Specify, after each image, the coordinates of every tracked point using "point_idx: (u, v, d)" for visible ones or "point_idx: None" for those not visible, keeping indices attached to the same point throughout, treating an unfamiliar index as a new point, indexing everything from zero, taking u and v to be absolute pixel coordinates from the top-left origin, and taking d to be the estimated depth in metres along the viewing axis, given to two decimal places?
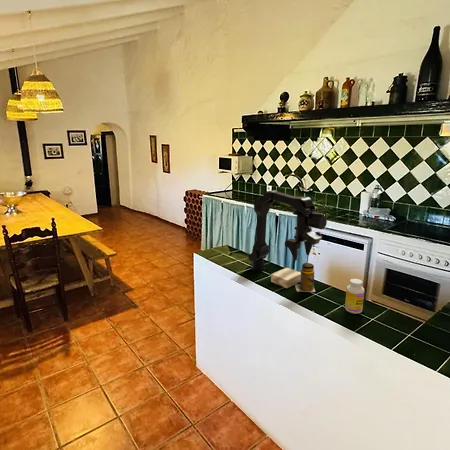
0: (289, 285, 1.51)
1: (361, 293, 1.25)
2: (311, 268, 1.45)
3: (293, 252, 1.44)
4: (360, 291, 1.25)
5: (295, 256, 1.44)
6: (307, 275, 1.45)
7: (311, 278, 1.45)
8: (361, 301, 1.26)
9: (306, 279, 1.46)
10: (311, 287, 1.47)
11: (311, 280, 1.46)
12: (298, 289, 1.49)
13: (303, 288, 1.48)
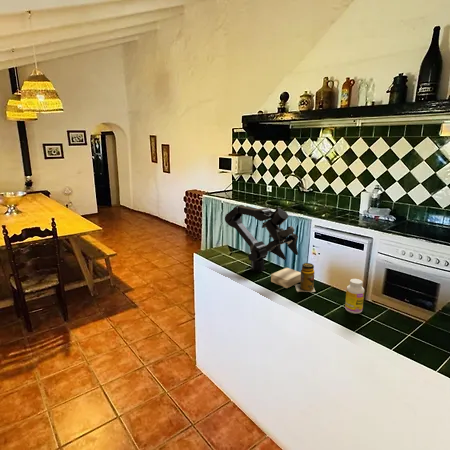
0: (289, 285, 1.51)
1: (361, 293, 1.25)
2: (311, 268, 1.45)
3: (278, 253, 1.51)
4: (360, 291, 1.25)
5: (282, 255, 1.50)
6: (307, 275, 1.45)
7: (311, 278, 1.45)
8: (361, 301, 1.26)
9: (306, 279, 1.46)
10: (311, 287, 1.47)
11: (311, 280, 1.46)
12: (298, 289, 1.49)
13: (303, 288, 1.48)
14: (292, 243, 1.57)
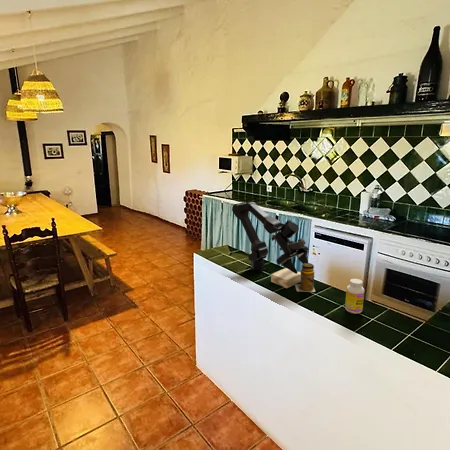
0: (289, 285, 1.51)
1: (361, 293, 1.25)
2: (311, 268, 1.45)
3: (289, 267, 1.47)
4: (360, 291, 1.25)
5: (293, 269, 1.46)
6: (307, 275, 1.45)
7: (311, 278, 1.45)
8: (361, 301, 1.26)
9: (306, 279, 1.46)
10: (311, 287, 1.47)
11: (311, 280, 1.46)
12: (298, 289, 1.49)
13: (303, 288, 1.48)
14: (303, 256, 1.53)
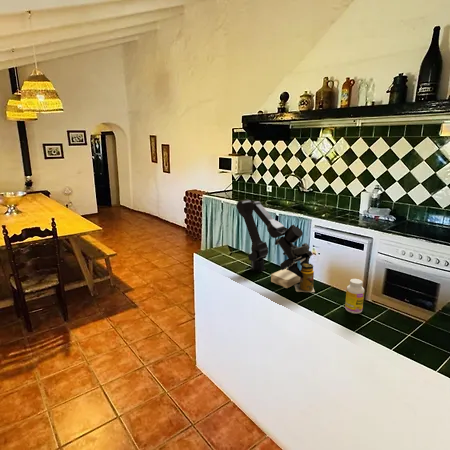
0: (289, 285, 1.51)
1: (361, 293, 1.25)
2: (310, 268, 1.44)
3: (295, 271, 1.47)
4: (360, 291, 1.25)
5: (299, 273, 1.46)
6: (306, 275, 1.45)
7: (310, 278, 1.45)
8: (361, 301, 1.26)
9: (305, 279, 1.45)
10: (311, 287, 1.46)
11: (310, 280, 1.45)
12: (297, 289, 1.48)
13: (302, 288, 1.47)
14: (305, 261, 1.51)
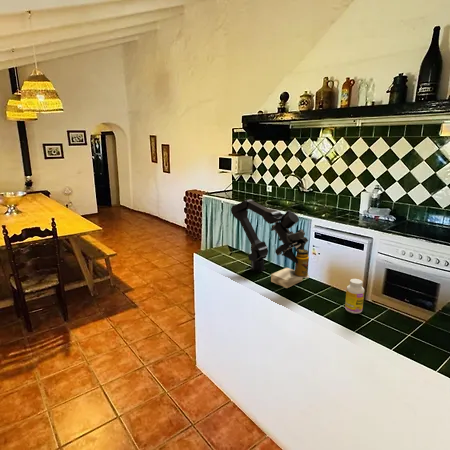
0: (289, 285, 1.51)
1: (361, 293, 1.25)
2: (305, 254, 1.45)
3: (290, 256, 1.47)
4: (360, 291, 1.25)
5: (294, 259, 1.46)
6: (301, 261, 1.45)
7: (305, 264, 1.46)
8: (361, 301, 1.26)
9: (300, 265, 1.46)
10: (305, 273, 1.47)
11: (305, 266, 1.46)
12: (292, 275, 1.49)
13: (297, 274, 1.48)
14: (300, 247, 1.52)
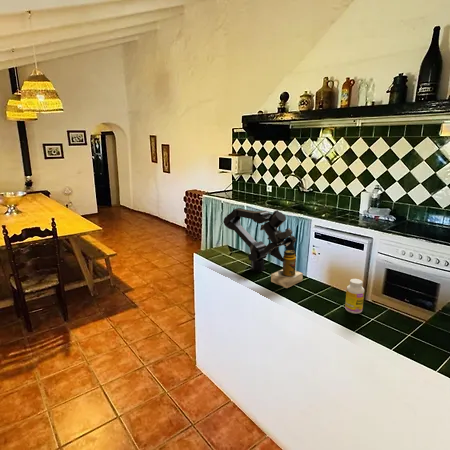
0: (289, 285, 1.51)
1: (361, 293, 1.25)
2: (292, 254, 1.51)
3: (276, 255, 1.52)
4: (360, 291, 1.25)
5: (280, 257, 1.51)
6: (288, 261, 1.51)
7: (292, 264, 1.52)
8: (361, 301, 1.26)
9: (287, 265, 1.52)
10: (293, 272, 1.53)
11: (292, 266, 1.52)
12: (280, 275, 1.55)
13: (285, 274, 1.54)
14: (290, 245, 1.58)
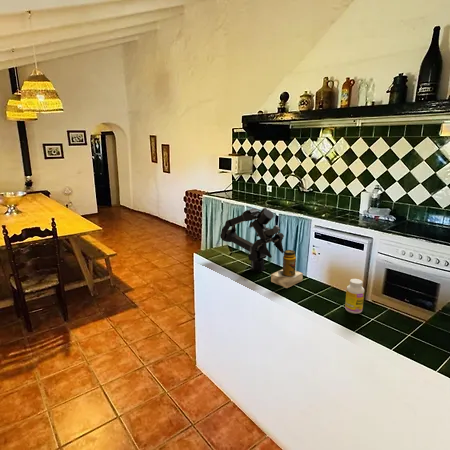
0: (289, 285, 1.51)
1: (361, 293, 1.25)
2: (292, 254, 1.51)
3: (264, 251, 1.57)
4: (360, 291, 1.25)
5: (268, 253, 1.56)
6: (288, 261, 1.51)
7: (292, 264, 1.52)
8: (361, 301, 1.26)
9: (287, 265, 1.52)
10: (293, 272, 1.53)
11: (292, 266, 1.52)
12: (280, 275, 1.55)
13: (285, 274, 1.54)
14: (278, 242, 1.64)
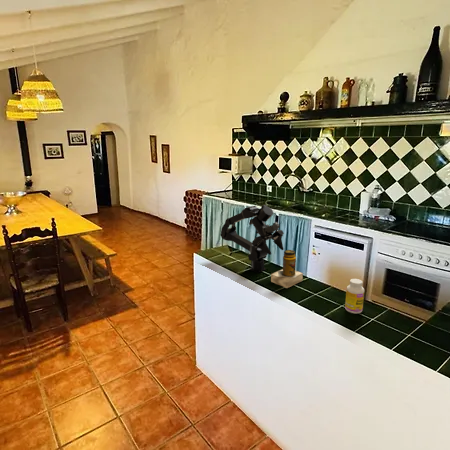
0: (289, 285, 1.51)
1: (361, 293, 1.25)
2: (292, 254, 1.51)
3: (264, 248, 1.57)
4: (360, 291, 1.25)
5: (267, 250, 1.56)
6: (288, 261, 1.51)
7: (292, 264, 1.52)
8: (361, 301, 1.26)
9: (287, 265, 1.52)
10: (293, 272, 1.53)
11: (292, 266, 1.52)
12: (280, 275, 1.55)
13: (285, 274, 1.54)
14: (278, 239, 1.64)
